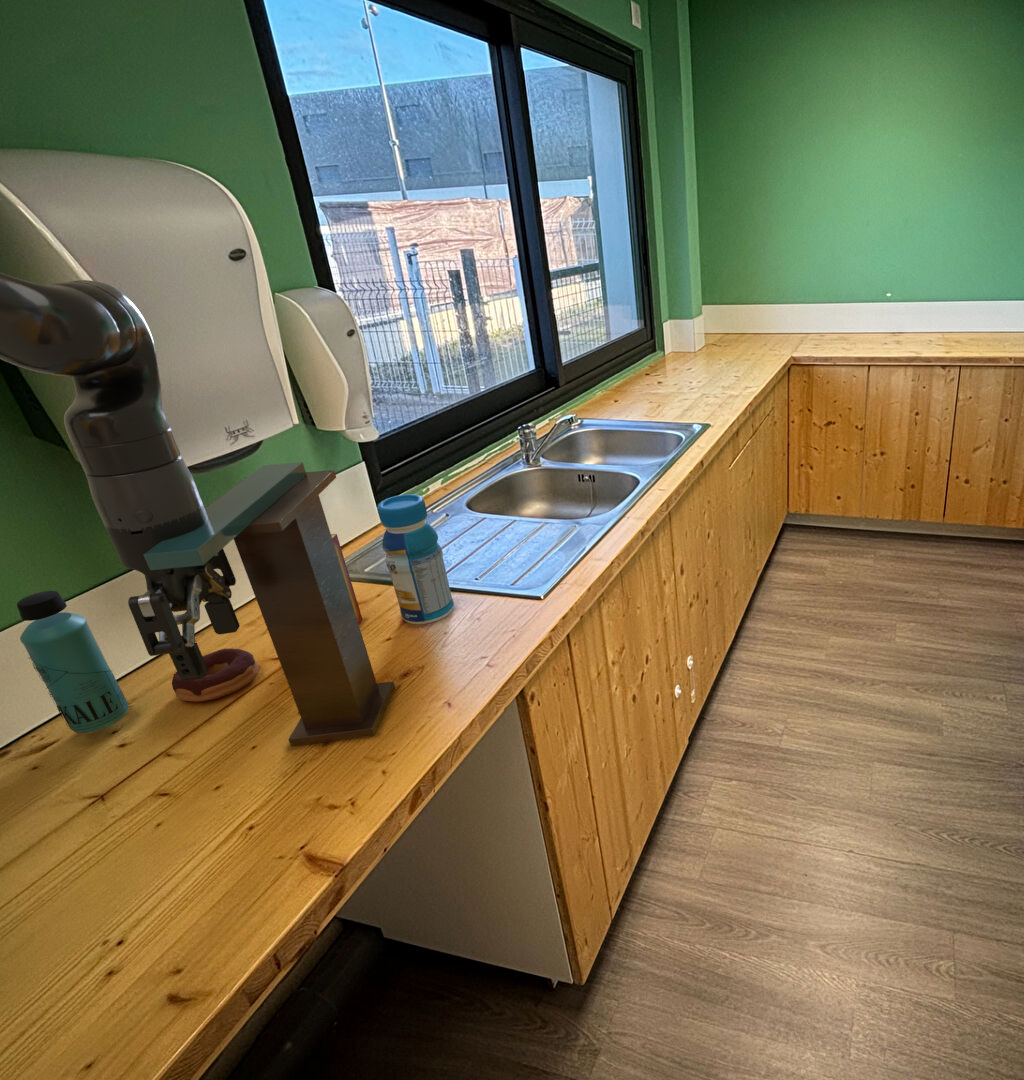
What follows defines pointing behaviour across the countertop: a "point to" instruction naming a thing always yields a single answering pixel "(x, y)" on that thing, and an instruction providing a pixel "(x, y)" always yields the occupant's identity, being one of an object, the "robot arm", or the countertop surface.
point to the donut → (218, 676)
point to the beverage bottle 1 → (71, 664)
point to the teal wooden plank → (227, 517)
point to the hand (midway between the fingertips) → (213, 653)
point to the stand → (312, 616)
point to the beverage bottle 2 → (414, 560)
